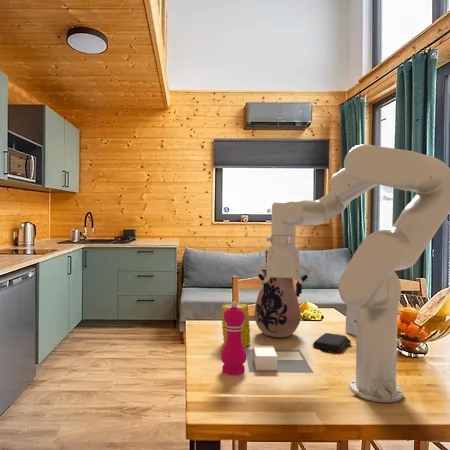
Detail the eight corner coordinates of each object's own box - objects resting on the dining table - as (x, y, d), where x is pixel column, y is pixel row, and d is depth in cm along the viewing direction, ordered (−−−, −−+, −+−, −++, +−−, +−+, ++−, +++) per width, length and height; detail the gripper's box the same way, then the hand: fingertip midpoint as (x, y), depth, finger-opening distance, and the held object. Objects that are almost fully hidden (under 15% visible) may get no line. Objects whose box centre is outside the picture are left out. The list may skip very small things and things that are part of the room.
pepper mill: (224, 378, 104) (225, 304, 104) (217, 369, 111) (218, 299, 111) (249, 376, 106) (250, 303, 106) (241, 366, 113) (242, 298, 113)
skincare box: (344, 332, 152) (345, 301, 152) (353, 331, 154) (353, 300, 154) (356, 336, 146) (357, 304, 146) (365, 335, 148) (365, 303, 149)
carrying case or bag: (343, 356, 125) (353, 344, 138) (343, 346, 125) (353, 335, 138) (311, 350, 131) (324, 339, 143) (311, 341, 131) (324, 331, 143)
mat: (313, 374, 108) (313, 372, 108) (249, 373, 108) (249, 371, 108) (299, 351, 128) (299, 349, 128) (245, 350, 128) (245, 349, 128)
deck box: (277, 370, 109) (277, 356, 109) (255, 370, 109) (256, 355, 109) (273, 359, 119) (273, 346, 119) (253, 358, 119) (253, 345, 119)
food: (238, 356, 127) (218, 349, 135) (261, 341, 135) (241, 336, 142) (229, 312, 125) (209, 308, 133) (253, 299, 133) (233, 296, 141)
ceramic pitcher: (247, 337, 143) (248, 270, 143) (264, 324, 162) (265, 265, 162) (294, 344, 136) (295, 273, 136) (306, 329, 155) (307, 267, 155)
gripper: (256, 241, 117) (255, 297, 117) (313, 242, 117) (312, 298, 117) (255, 240, 125) (254, 292, 125) (309, 241, 124) (308, 294, 124)
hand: (282, 295), depth 121 cm, fingers open, 9 cm apart
